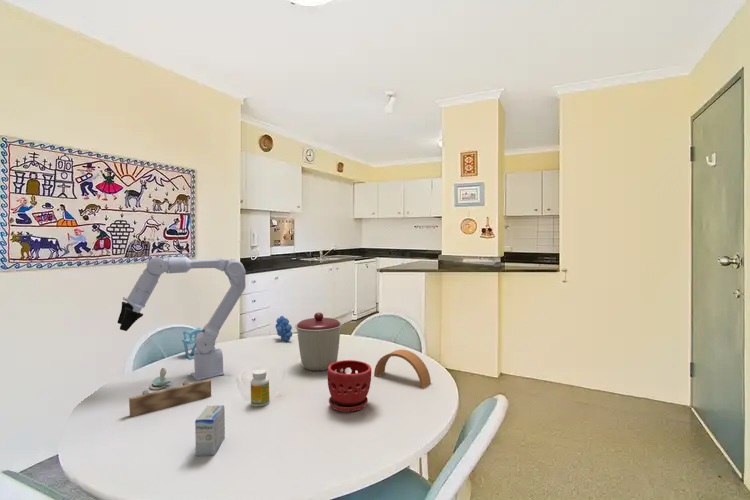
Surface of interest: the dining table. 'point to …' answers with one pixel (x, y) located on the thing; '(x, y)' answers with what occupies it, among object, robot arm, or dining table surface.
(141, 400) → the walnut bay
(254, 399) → the supplement bottle
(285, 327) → the grapes
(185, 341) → the chair
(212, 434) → the medicine box
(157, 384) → the pacifier
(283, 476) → the dining table surface
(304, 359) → the canister
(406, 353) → the arch
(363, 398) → the plant pot
